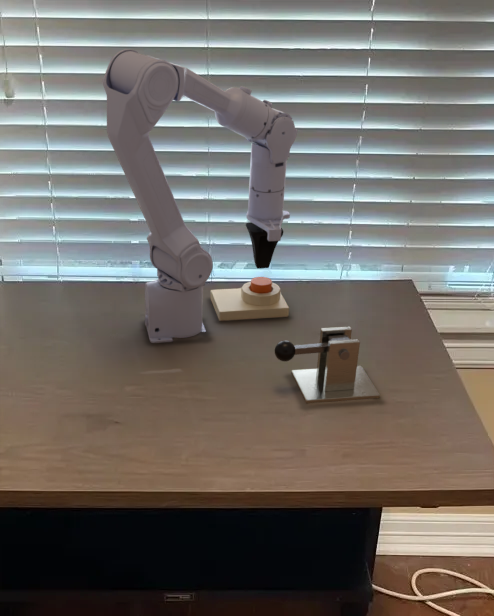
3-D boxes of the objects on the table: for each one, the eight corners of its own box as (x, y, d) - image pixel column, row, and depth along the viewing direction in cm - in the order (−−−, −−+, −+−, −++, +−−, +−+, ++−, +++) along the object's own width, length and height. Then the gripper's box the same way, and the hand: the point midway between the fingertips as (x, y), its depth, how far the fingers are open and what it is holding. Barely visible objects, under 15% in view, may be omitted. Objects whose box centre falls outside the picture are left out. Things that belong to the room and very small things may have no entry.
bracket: (305, 406, 133) (311, 352, 128) (290, 375, 140) (295, 323, 135) (379, 400, 134) (387, 346, 129) (360, 370, 142) (367, 318, 136)
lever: (276, 366, 132) (277, 347, 130) (272, 356, 134) (272, 337, 133) (350, 359, 133) (352, 340, 131) (344, 349, 135) (346, 331, 134)
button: (252, 295, 157) (253, 285, 156) (248, 286, 160) (248, 277, 159) (273, 294, 157) (274, 284, 156) (268, 285, 160) (269, 276, 159)
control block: (219, 321, 156) (219, 302, 154) (210, 298, 163) (210, 280, 161) (288, 316, 157) (290, 297, 155) (276, 294, 164) (277, 276, 162)
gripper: (302, 200, 143) (295, 282, 150) (280, 172, 154) (275, 249, 162) (257, 202, 142) (253, 285, 150) (239, 173, 154) (236, 251, 161)
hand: (262, 266), depth 156 cm, fingers closed
